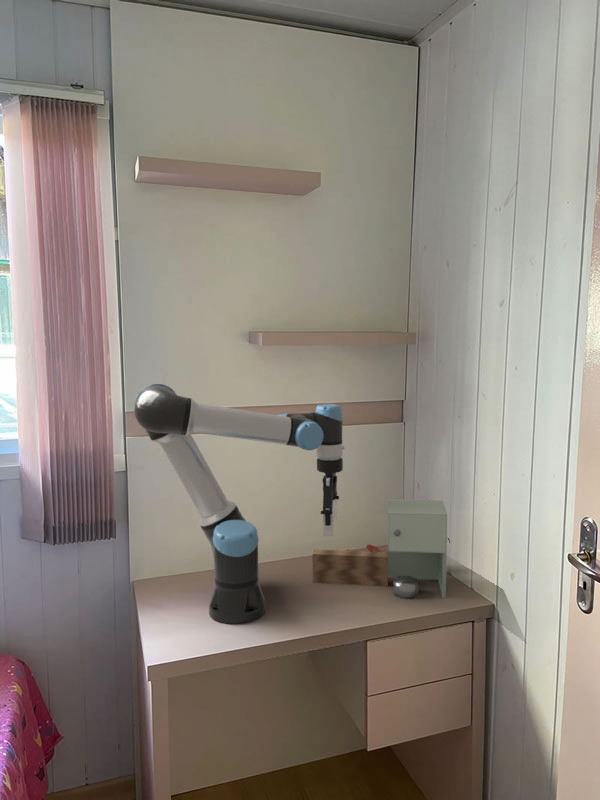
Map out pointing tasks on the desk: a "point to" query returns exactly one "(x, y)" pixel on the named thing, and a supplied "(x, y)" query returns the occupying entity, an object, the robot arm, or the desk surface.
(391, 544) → the green bedside cabinet
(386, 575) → the brown wooden block
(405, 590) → the silver metal dome
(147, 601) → the desk surface
